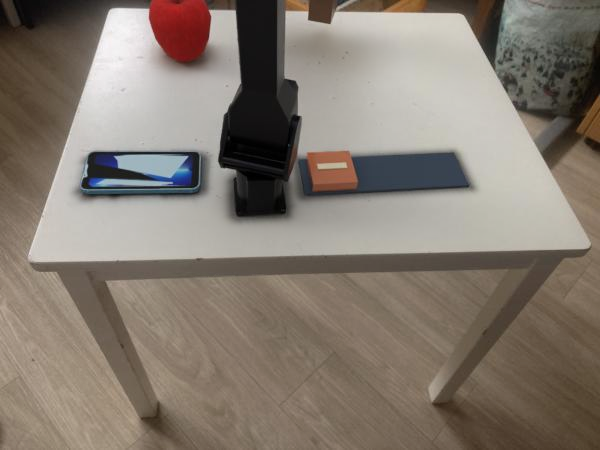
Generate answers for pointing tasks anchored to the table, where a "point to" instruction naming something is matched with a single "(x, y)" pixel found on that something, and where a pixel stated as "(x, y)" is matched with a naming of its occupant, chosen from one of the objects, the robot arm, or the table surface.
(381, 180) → the word mat
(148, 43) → the table surface
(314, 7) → the brown tall rectangular block
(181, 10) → the apple
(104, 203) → the table surface
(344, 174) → the letter tile
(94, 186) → the smartphone
